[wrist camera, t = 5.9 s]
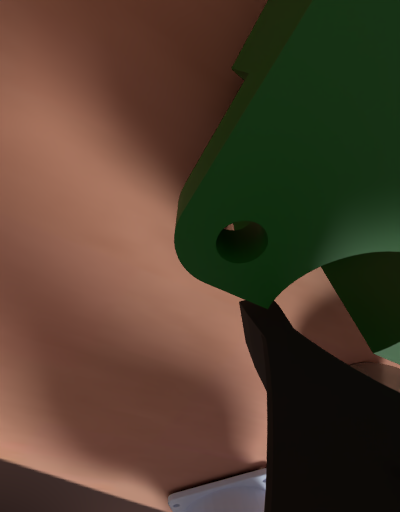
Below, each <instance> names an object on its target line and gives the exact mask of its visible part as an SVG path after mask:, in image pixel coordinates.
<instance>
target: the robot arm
mask: <svg viewBox="0 0 400 512" xmlns="http://www.w3.org/2000/svg"><path fill="white" fill-rule="evenodd" d="M239 304H240V310H241V316H242V322H243V328H244V334H245V340H246V344H247V347H248V349H249V352H250V355H251V358H252V360H253V363H254V366H255V368H256V370H257V372H258V375H259V377H260V379H261V381H262V383H263V385H264V387H265V389H266V391H267V467H266V468H263V469H259V470H256V471H252V472H249V473H245V474H241V475H238V476H234V477H231V478H227V479H223V480H220V481H216V482H213V483H209V484H205V485H202V486H198V487H194V488H191V489H187V490H184V491H180V492H176V493H173V494H171V495H169V497H168V504H169V506H170V508H171V509H172V511H173V512H400V392H398V391H396V390H394V389H392V388H390V387H388V386H386V385H384V384H382V383H380V382H378V381H376V380H374V379H372V378H371V377H369V376H367V375H365V374H363V373H361V372H360V371H358V370H356V369H354V368H353V367H351V366H349V365H348V364H346V363H344V362H342V361H341V360H339V359H338V358H336V357H334V356H333V355H331V354H330V353H328V352H326V351H325V350H323V349H322V348H320V347H319V346H317V345H316V344H314V343H313V342H311V341H310V340H309V339H307V338H306V337H304V336H303V335H302V334H300V333H299V332H298V331H296V330H295V329H294V328H293V327H292V325H291V324H290V322H289V320H288V319H287V317H286V316H285V314H284V313H283V311H282V310H281V308H280V307H279V305H278V304H277V303H276V302H275V301H273V302H272V303H271V305H270V306H269V308H268V309H266V308H264V307H261V306H259V305H257V304H254V303H252V302H249V301H247V300H244V301H240V302H239Z"/></svg>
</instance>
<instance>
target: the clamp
mask: <svg viewBox="0 0 400 512" xmlns="http://www.w3.org/2000/svg"><path fill="white" fill-rule="evenodd" d="M231 69H232V70H233V71H234V72H235V73H236V74H237V75H239V76H240V77H241V78H242V79H243V80H245V81H244V82H243V84H242V86H241V88H240V89H239V91H238V93H237V95H236V96H235V98H234V100H233V102H232V103H231V105H230V107H229V108H228V110H227V112H226V114H225V115H224V117H223V119H222V121H221V122H220V124H219V126H218V128H217V129H216V131H215V133H214V134H213V136H212V138H211V140H210V141H209V143H208V145H207V147H206V148H205V150H204V152H203V154H202V155H201V157H200V159H199V160H198V162H197V164H196V166H195V167H194V169H193V171H192V173H191V174H190V176H189V178H188V180H187V181H186V183H185V185H184V187H183V189H182V191H181V194H180V197H179V201H178V210H177V218H176V227H175V235H174V244H175V250H176V253H177V256H178V258H179V260H180V262H181V264H182V265H183V266H184V268H185V269H186V270H187V271H188V272H189V273H190V274H191V275H193V276H194V277H195V278H197V279H199V280H200V281H202V282H204V283H207V284H209V285H211V286H214V287H216V288H218V289H221V290H223V291H226V292H228V293H230V294H233V295H235V296H237V297H240V298H242V299H245V300H247V301H249V302H252V303H254V304H257V305H259V306H261V307H264V308H266V309H268V308H269V306H270V305H271V303H272V302H273V301H274V300H275V298H276V297H277V296H278V295H279V294H280V293H281V292H282V291H283V290H284V289H285V288H286V287H288V286H289V285H290V284H291V283H293V282H294V281H296V280H297V279H298V278H300V277H302V276H303V275H305V274H307V273H308V272H310V271H312V270H314V269H316V268H318V267H321V268H322V269H323V271H324V273H325V274H326V276H327V278H328V279H329V281H330V283H331V284H332V286H333V288H334V289H335V291H336V293H337V294H338V296H339V298H340V299H341V301H342V303H343V304H344V306H345V307H346V309H347V311H348V312H349V314H350V316H351V317H352V319H353V321H354V322H355V324H356V326H357V327H358V329H359V331H360V332H361V334H362V336H363V337H364V339H365V341H366V342H367V344H368V346H369V347H370V349H371V351H372V352H373V354H376V355H378V356H380V357H383V358H385V359H387V360H390V361H392V362H395V363H397V364H399V365H400V0H268V1H267V3H266V5H265V7H264V9H263V10H262V12H261V14H260V16H259V18H258V20H257V22H256V24H255V25H254V27H253V29H252V31H251V33H250V35H249V37H248V38H247V40H246V42H245V44H244V46H243V48H242V50H241V51H240V53H239V55H238V57H237V59H236V61H235V63H234V64H233V66H232V68H231ZM232 223H233V225H234V230H225V229H224V228H225V227H226V226H228V225H230V224H232Z"/></svg>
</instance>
